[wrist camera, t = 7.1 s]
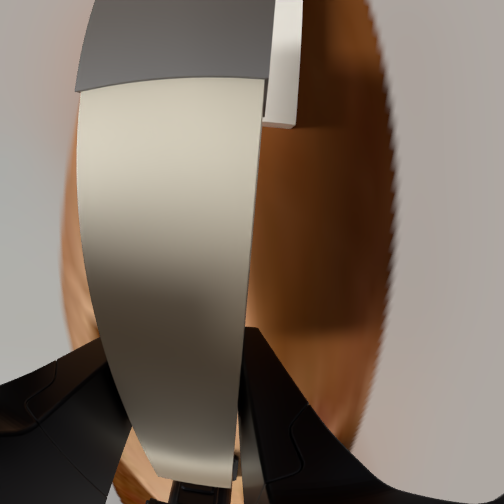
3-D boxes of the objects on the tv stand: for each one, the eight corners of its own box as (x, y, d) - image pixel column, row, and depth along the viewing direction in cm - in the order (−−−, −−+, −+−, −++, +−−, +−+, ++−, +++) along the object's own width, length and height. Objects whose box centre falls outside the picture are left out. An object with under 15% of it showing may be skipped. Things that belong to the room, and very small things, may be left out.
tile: (295, 124, 9) (303, -31, 7) (165, 119, 9) (189, -32, 7) (289, 129, 12) (298, -9, 9) (181, 124, 12) (199, -11, 9)
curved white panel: (238, 408, 11) (231, 490, 7) (177, 400, 11) (156, 478, 7) (272, 21, 5) (281, -71, 2) (177, 22, 5) (116, -52, 2)
